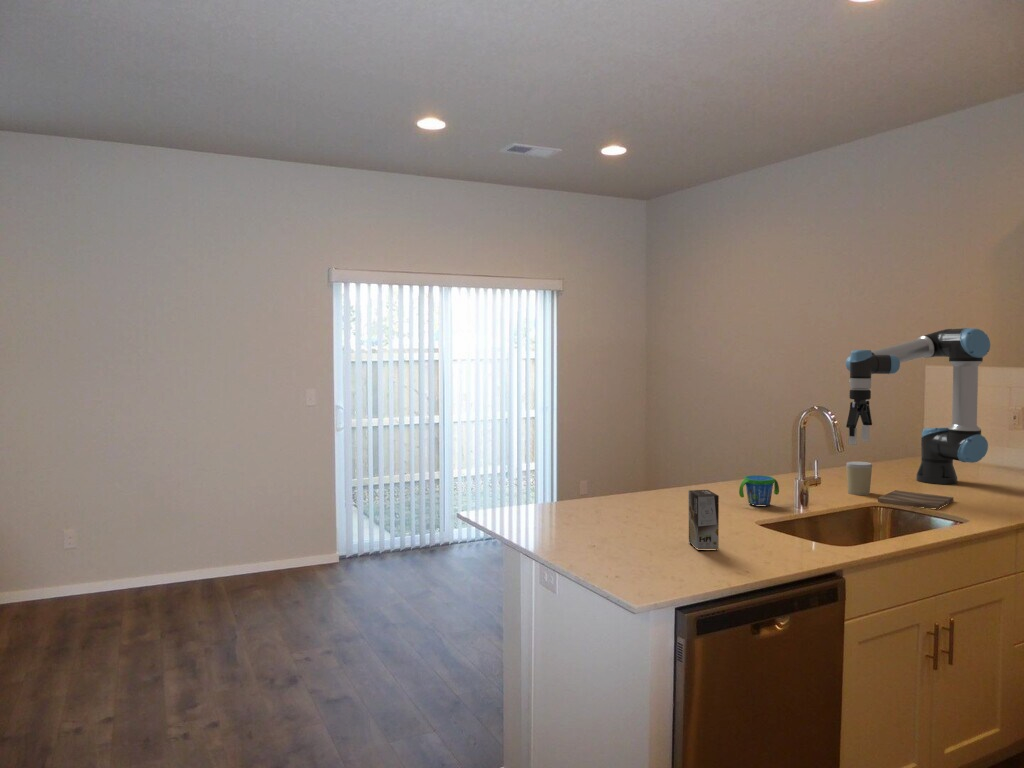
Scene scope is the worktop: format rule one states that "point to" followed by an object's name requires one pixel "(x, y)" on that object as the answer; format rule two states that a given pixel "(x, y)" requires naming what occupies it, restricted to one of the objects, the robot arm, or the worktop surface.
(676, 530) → the worktop surface
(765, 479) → the snack cup
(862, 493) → the coffee cup
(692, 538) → the coffee box
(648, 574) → the worktop surface
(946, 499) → the walnut board
